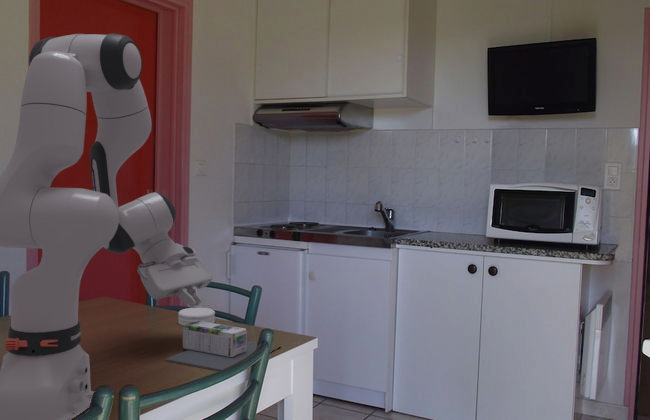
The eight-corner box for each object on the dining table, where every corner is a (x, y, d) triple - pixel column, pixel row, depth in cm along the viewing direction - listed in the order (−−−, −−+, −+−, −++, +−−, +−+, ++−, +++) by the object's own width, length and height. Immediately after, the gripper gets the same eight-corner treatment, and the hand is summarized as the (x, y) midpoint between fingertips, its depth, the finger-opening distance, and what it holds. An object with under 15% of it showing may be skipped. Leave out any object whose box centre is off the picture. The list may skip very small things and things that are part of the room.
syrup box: (197, 319, 155) (247, 327, 149) (197, 343, 156) (247, 352, 149) (181, 324, 150) (233, 332, 144) (182, 349, 151) (233, 358, 144)
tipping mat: (165, 360, 142) (165, 359, 142) (222, 338, 162) (222, 336, 162) (229, 373, 135) (229, 371, 135) (281, 347, 155) (281, 346, 155)
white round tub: (175, 320, 180) (175, 308, 180) (211, 318, 184) (211, 306, 184) (181, 329, 171) (181, 316, 171) (218, 326, 175) (218, 313, 174)
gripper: (141, 256, 145) (175, 304, 141) (197, 247, 163) (229, 289, 160) (126, 274, 147) (159, 321, 143) (183, 263, 165) (213, 305, 162)
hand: (196, 304), depth 152 cm, fingers closed
